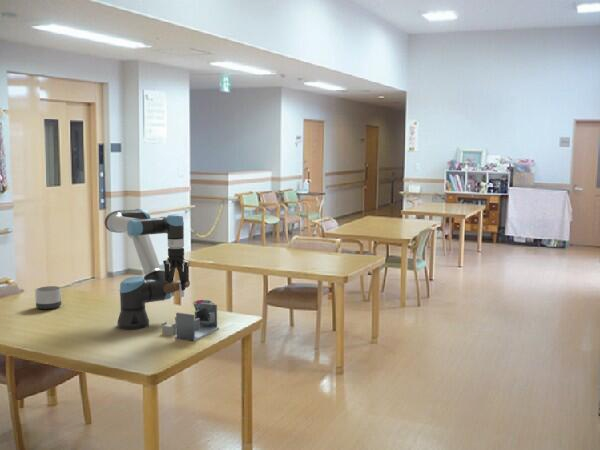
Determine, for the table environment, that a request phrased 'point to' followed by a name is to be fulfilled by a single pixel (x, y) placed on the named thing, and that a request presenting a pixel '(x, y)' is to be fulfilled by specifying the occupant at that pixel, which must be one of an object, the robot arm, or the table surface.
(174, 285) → the brown cylinder
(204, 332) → the wall board
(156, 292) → the robot arm
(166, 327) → the rest blocks
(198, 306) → the mug
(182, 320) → the brackets
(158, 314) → the table surface
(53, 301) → the planter
